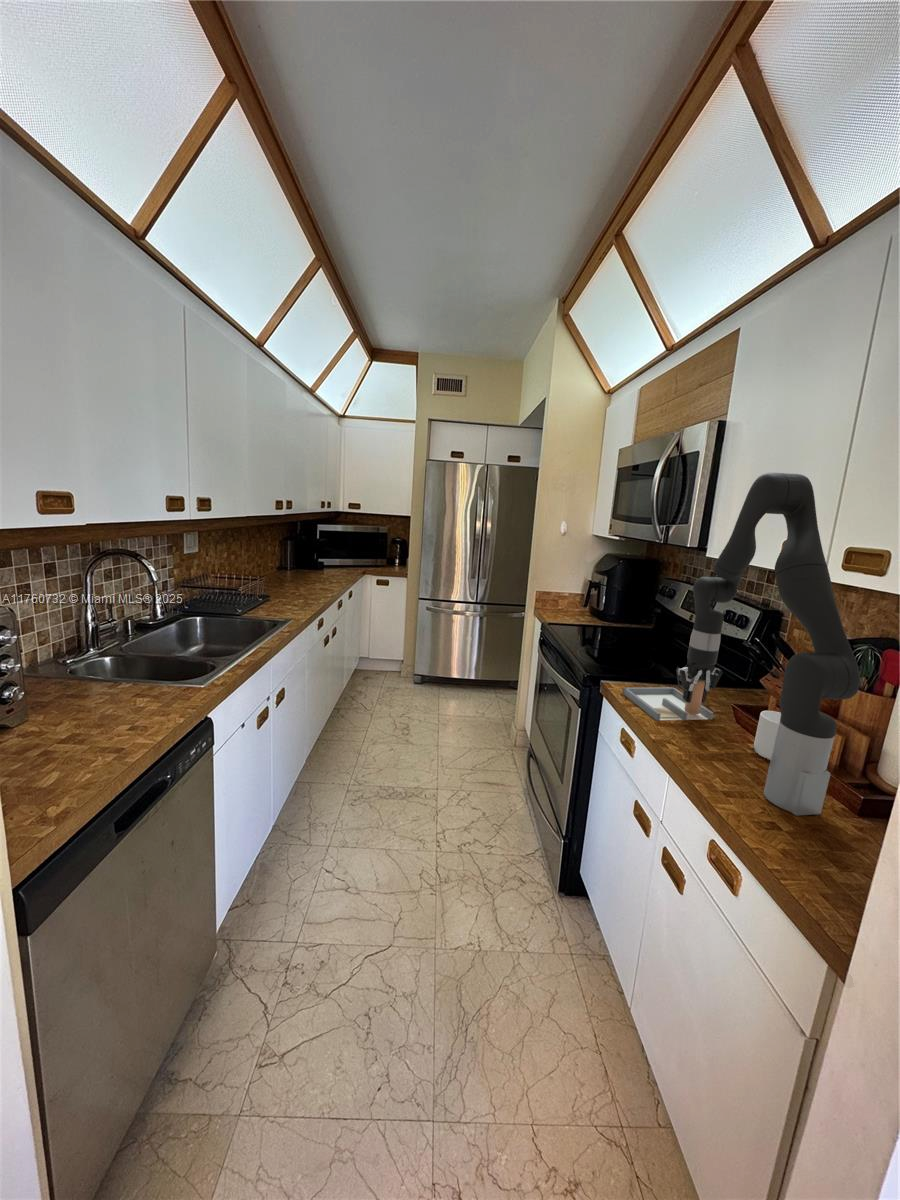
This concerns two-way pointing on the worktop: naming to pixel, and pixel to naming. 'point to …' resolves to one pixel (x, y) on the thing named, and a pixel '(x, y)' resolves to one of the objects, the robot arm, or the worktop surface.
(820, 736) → the robot arm
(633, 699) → the grey shallow tray
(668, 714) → the pad
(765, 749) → the cup
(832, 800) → the worktop surface
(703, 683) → the peg
